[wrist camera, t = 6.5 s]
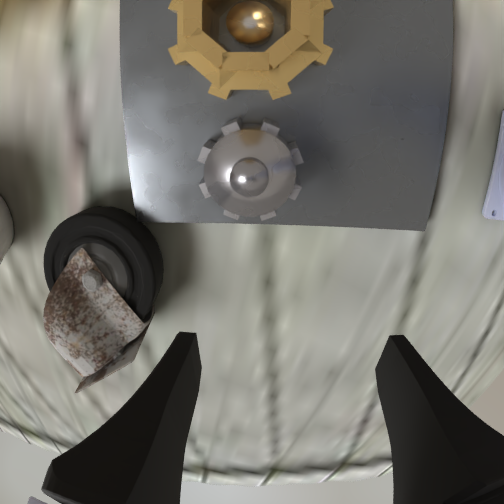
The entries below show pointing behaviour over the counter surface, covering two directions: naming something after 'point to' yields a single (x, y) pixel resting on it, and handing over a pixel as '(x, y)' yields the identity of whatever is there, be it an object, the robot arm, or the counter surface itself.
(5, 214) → the cupcake
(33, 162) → the counter surface
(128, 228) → the caster wheel
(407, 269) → the counter surface
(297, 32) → the planet gear
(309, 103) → the carrier
